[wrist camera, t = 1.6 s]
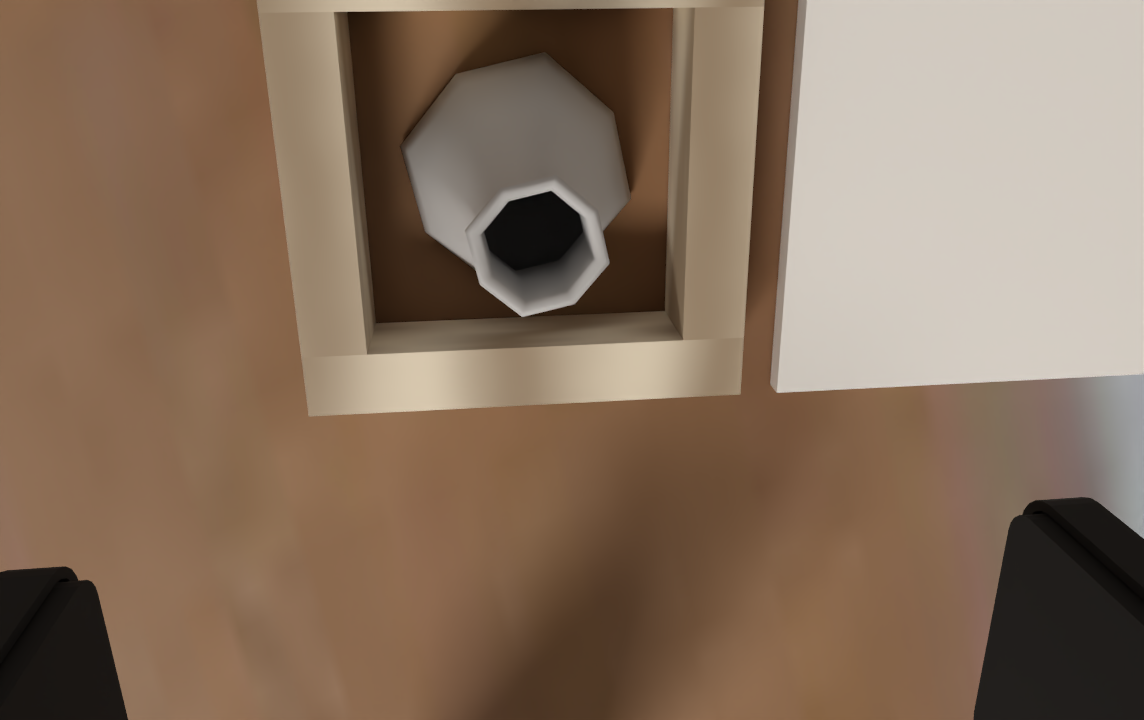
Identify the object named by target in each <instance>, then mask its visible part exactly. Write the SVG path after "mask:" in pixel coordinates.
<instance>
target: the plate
mask: <svg viewBox="0 0 1144 720" xmlns="http://www.w3.org/2000/svg"><path fill="white" fill-rule="evenodd" d="M1143 373H1144V0H798V14H797V27H796V41H795V54H794V68H793V81H792V95H791V109H790V122H789V136H788V149H787V163H786V176H785V190H784V203H783V217H782V230H781V244H780V258H779V271H778V285H777V298H776V312H775V325H774V339H773V352H772V366H771V379H770V385H771V386H772V387H773V388H774V390H775V391H776V392H777V393H782V392H802V391H821V390H841V389H861V388H880V387H900V386H919V385H939V384H959V383H978V382H998V381H1017V380H1037V379H1057V378H1076V377H1096V376H1116V375H1135V374H1143Z"/></svg>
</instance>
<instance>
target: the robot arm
mask: <svg viewBox="0 0 1144 720" xmlns="http://www.w3.org/2000/svg"><path fill="white" fill-rule="evenodd" d="M0 720H128V718H127V713H126V709H125V705H124V701H123V697H122V693H121V688H120V684H119V680H118V676H117V672H116V667H115V663H114V659H113V655H112V651H111V647H110V642H109V638H108V634H107V630H106V626H105V622H104V617H103V613H102V609H101V605H100V601H99V597H98V593H97V590H96V587H95V586H94V584H93V583H92V582H91V581H89V580H82V581H78V579H77V576H76V574H75V573H74V572H73V570H72V569H70V568H68V567H66V566H65V567H51V568H36V569H21V570H7V571H3V572H0ZM974 720H1144V539H1143V538H1142V537H1141V536H1139V535H1138V534H1137V533H1136V532H1134V531H1133V530H1132V529H1131V528H1129V527H1128V526H1127V525H1126V524H1124V523H1123V522H1122V521H1121V520H1120V519H1118V518H1117V517H1116V516H1115V515H1113V514H1112V513H1111V512H1110V511H1108V510H1107V509H1106V508H1105V507H1103V506H1102V505H1101V504H1100V503H1098V502H1097V501H1095V500H1093V499H1091V498H1085V497H1079V498H1065V499H1050V500H1035V501H1033V502H1031V503H1029V504H1028V506H1027V507H1026V508H1025V510H1024V512H1023V515H1019V516H1017V517H1015V518H1014V519H1013V520H1012V522H1011V524H1010V527H1009V530H1008V535H1007V541H1006V546H1005V551H1004V557H1003V562H1002V567H1001V572H1000V578H999V583H998V588H997V594H996V599H995V604H994V610H993V615H992V620H991V625H990V631H989V636H988V641H987V647H986V652H985V657H984V662H983V668H982V673H981V678H980V684H979V689H978V694H977V699H976V705H975V710H974Z"/></svg>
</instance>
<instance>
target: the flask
mask: <svg viewBox="0 0 1144 720" xmlns="http://www.w3.org/2000/svg"><path fill="white" fill-rule="evenodd" d="M400 148H401V151H402V155H403V158H404V161H405V165H406V168H407V172H408V175H409V178H410V182H411V185H412V189H413V192H414V195H415V199H416V202H417V206H418V209H419V212H420V216H421V219H422V223H423V226H424V229H425V232H426V233H427V234H429V235H430V236H431V237H432V238H434V239H435V240H436V241H438V242H439V243H440V244H442V245H443V246H444V247H445V248H447V249H448V250H449V251H451V252H452V253H453V254H455V255H456V256H457V257H459V258H460V259H461V260H462V261H464V262H465V263H466V264H468V265H469V266H470V267H472V268H473V269H474V270H476V273H477V276H478V280H479V284H480V285H481V286H482V287H483V288H485V289H486V290H487V291H489V292H490V293H491V294H493V295H494V296H495V297H496V298H498V299H499V300H500V301H502V302H503V303H504V304H506V305H507V306H508V307H510V308H511V309H512V310H514V311H515V312H516V313H518V314H519V315H520V316H521V317H525V316H529V315H533V314H537V313H541V312H545V311H549V310H553V309H557V308H561V307H565V306H569V305H573V304H575V303H576V302H577V301H578V300H579V298H580V297H581V296H582V295H583V294H584V293H585V291H586V290H587V289H588V288H589V287H590V286H591V285H592V283H593V282H594V281H595V280H596V279H597V278H598V276H599V275H600V274H601V273H602V272H603V271H604V270H605V268H606V267H607V266H608V265H609V264H610V262H609V258H608V253H607V249H606V244H605V239H604V235H603V231H604V230H605V229H606V228H607V226H608V225H609V224H610V223H611V222H612V221H613V219H614V218H615V217H616V216H617V215H618V214H619V212H620V211H621V210H622V209H623V208H624V207H625V205H626V204H627V203H628V202H629V201H630V199H631V195H630V190H629V186H628V181H627V176H626V171H625V166H624V161H623V156H622V151H621V146H620V141H619V136H618V131H617V126H616V121H615V116H614V112H613V111H611V110H610V109H609V108H608V107H607V106H606V105H605V104H604V103H602V102H601V101H600V100H599V99H598V98H597V97H596V96H594V95H593V94H592V93H591V92H590V91H589V90H588V89H587V88H585V87H584V86H583V85H582V84H581V83H580V82H579V81H577V80H576V79H575V78H574V77H573V76H572V75H571V74H570V73H568V72H567V71H566V70H565V69H564V68H563V67H562V66H560V65H559V64H558V63H557V62H556V61H555V60H554V59H553V58H551V57H550V56H549V55H548V54H547V53H546V52H543V53H539V54H535V55H531V56H527V57H523V58H519V59H515V60H511V61H507V62H502V63H498V64H494V65H490V66H486V67H482V68H478V69H474V70H470V71H466V72H462V73H458V74H455V76H454V77H453V78H452V79H451V81H450V82H449V83H448V85H447V86H446V87H445V89H444V90H443V91H442V92H441V94H440V95H439V96H438V98H437V99H436V100H435V101H434V103H433V104H432V105H431V107H430V108H429V109H428V111H427V112H426V113H425V114H424V116H423V117H422V118H421V120H420V121H419V122H418V124H417V125H416V126H415V127H414V129H413V130H412V131H411V133H410V134H409V135H408V136H407V138H406V139H405V140H404V142H403V143H402V144H401V146H400Z"/></svg>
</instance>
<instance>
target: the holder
mask: <svg viewBox="0 0 1144 720" xmlns="http://www.w3.org/2000/svg"><path fill="white" fill-rule="evenodd" d="M764 1H765V0H257V7H258V15H259V23H260V31H261V39H262V47H263V55H264V62H265V70H266V78H267V86H268V94H269V102H270V110H271V118H272V126H273V134H274V142H275V150H276V158H277V166H278V174H279V182H280V190H281V198H282V206H283V214H284V222H285V230H286V238H287V246H288V254H289V262H290V270H291V278H292V286H293V294H294V302H295V310H296V318H297V326H298V334H299V342H300V350H301V358H302V366H303V374H304V382H305V390H306V398H307V406H308V414H309V416H326V415H346V414H365V413H385V412H404V411H424V410H444V409H463V408H483V407H503V406H522V405H542V404H561V403H581V402H601V401H620V400H640V399H660V398H679V397H699V396H718V395H738V394H740V392H741V376H742V360H743V343H744V327H745V311H746V294H747V278H748V262H749V246H750V229H751V213H752V197H753V180H754V164H755V148H756V132H757V115H758V99H759V83H760V66H761V50H762V34H763V17H764ZM613 8H673V36H672V72H671V108H670V144H669V180H668V215H667V251H666V287H665V311H653V312H630V313H606V314H582V315H559V316H535V317H511V318H488V319H464V320H440V321H417V322H393V323H376V318H375V307H374V296H373V285H372V274H371V263H370V253H369V242H368V231H367V220H366V209H365V198H364V187H363V177H362V166H361V155H360V144H359V133H358V122H357V112H356V101H355V90H354V79H353V68H352V57H351V47H350V36H349V25H348V14H347V12H368V11H450V10H532V9H613Z"/></svg>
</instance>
